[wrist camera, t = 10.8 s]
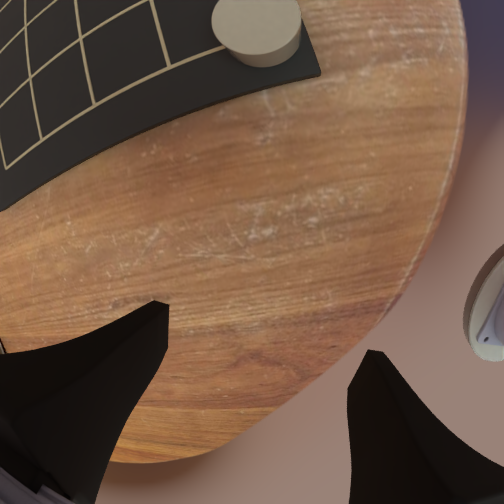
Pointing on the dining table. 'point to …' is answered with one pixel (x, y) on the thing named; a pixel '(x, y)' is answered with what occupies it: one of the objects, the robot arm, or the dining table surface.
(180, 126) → the dining table surface
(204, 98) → the board
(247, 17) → the cylinder
